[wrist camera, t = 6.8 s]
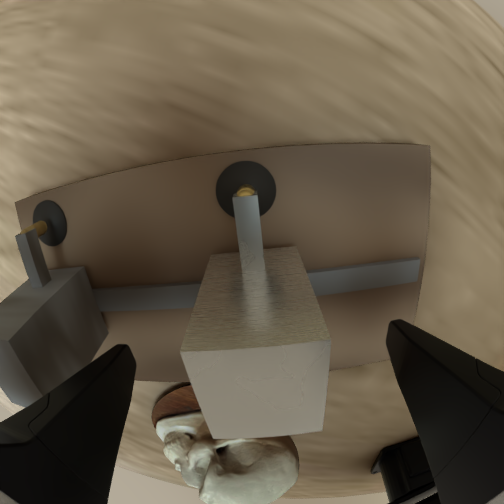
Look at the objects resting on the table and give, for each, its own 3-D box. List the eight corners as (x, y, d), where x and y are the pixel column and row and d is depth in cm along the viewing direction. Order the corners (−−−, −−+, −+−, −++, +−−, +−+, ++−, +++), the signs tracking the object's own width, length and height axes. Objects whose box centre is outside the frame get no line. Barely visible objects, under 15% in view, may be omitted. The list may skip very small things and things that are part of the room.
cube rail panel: (396, 340, 16) (449, 435, 9) (90, 361, 17) (44, 446, 10) (414, 144, 12) (539, 166, 4) (30, 196, 13) (-72, 244, 5)
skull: (157, 458, 21) (125, 504, 11) (171, 360, 24) (140, 363, 15) (282, 476, 21) (310, 527, 12) (299, 380, 25) (341, 392, 15)
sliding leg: (299, 324, 13) (322, 430, 8) (225, 331, 13) (213, 438, 8) (291, 178, 11) (332, 221, 5) (200, 188, 11) (148, 241, 5)
